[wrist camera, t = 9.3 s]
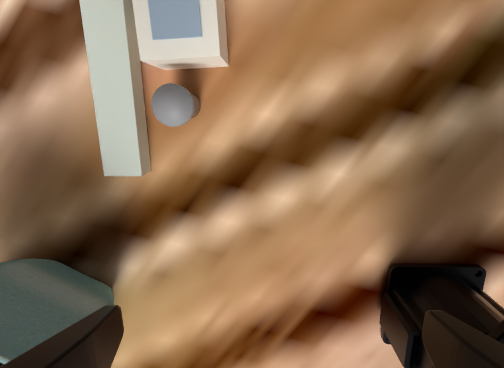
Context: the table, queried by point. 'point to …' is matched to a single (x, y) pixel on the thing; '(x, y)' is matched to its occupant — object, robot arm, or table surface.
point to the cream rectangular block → (181, 33)
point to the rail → (125, 88)
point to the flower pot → (43, 302)
